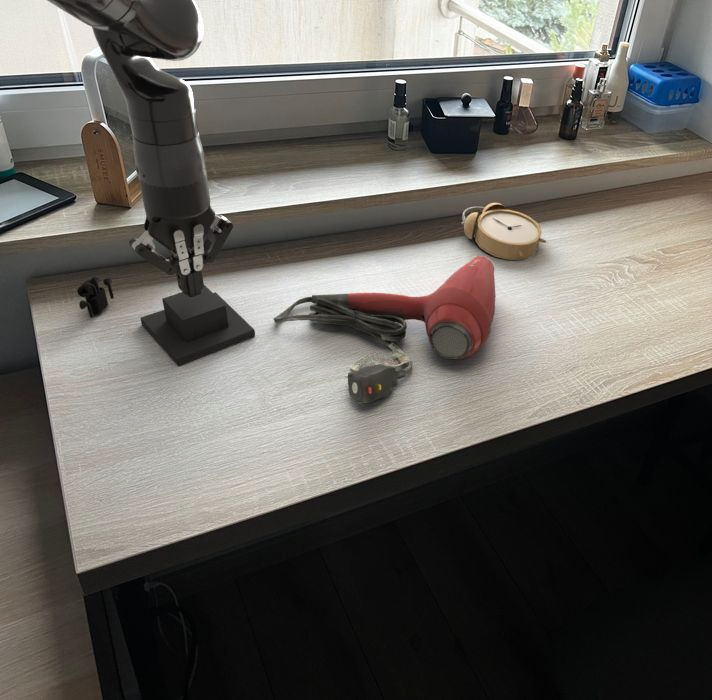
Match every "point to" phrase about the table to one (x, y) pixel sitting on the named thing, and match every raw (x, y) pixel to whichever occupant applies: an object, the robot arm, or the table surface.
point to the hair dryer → (438, 310)
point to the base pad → (201, 346)
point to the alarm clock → (503, 231)
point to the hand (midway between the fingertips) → (192, 292)
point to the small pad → (195, 314)
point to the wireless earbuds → (94, 295)
